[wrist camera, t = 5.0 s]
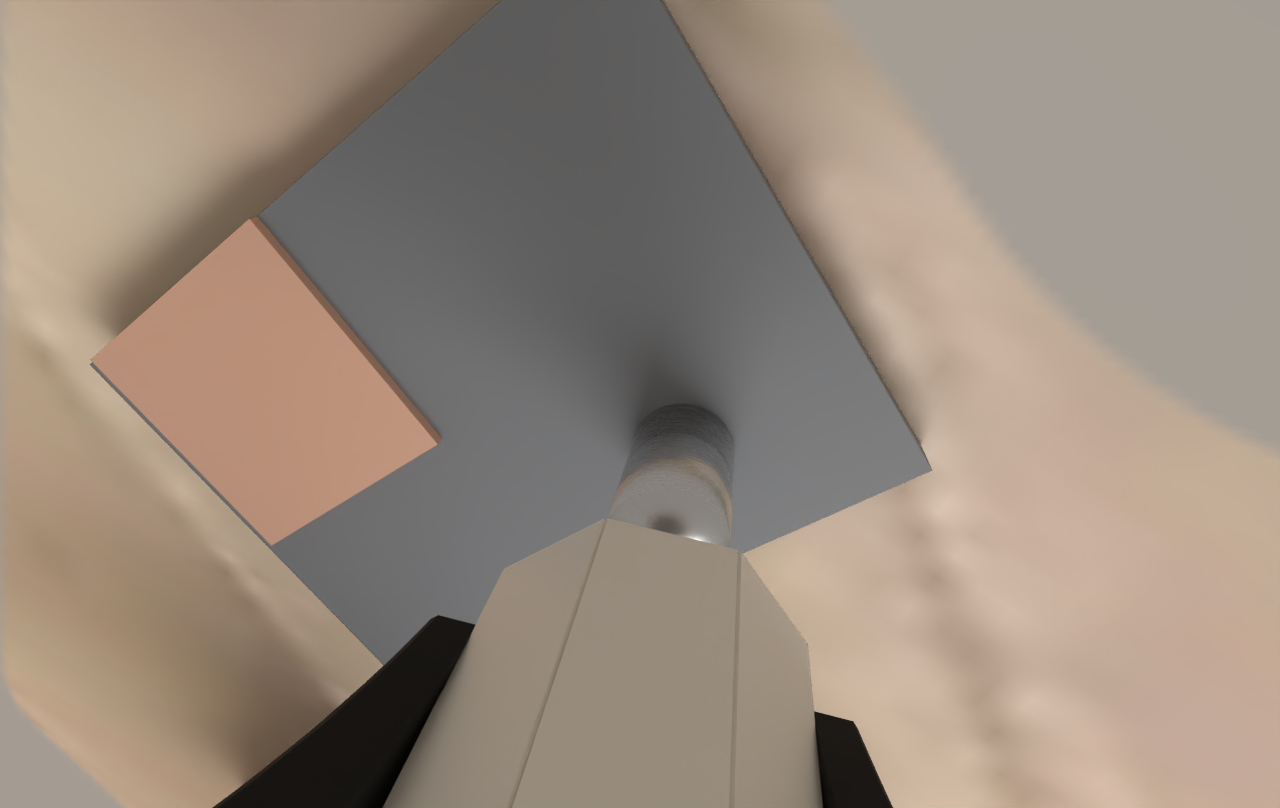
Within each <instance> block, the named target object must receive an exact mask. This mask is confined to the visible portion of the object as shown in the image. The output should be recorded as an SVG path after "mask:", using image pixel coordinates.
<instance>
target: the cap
mask: <svg viewBox="0 0 1280 808" xmlns="http://www.w3.org/2000/svg"><path fill="white" fill-rule="evenodd" d="M383 808H823V802H822V791H821V782H820V771H819V760H818V750H817V739H816V728H815V717H814V705H813V694H812V684H811V673H810V662H809V651H808V644H807V642H806V641H805V639H804V638H803V637H802V635H801V634H800V633H799V631H798V630H797V628H796V627H795V626H794V624H793V623H792V621H791V620H790V619H789V617H788V616H787V615H786V613H785V612H784V610H783V609H782V608H781V606H780V605H779V603H778V602H777V601H776V599H775V598H774V596H773V595H772V594H771V592H770V591H769V590H768V588H767V587H766V585H765V584H764V583H763V581H762V580H761V578H760V577H759V576H758V574H757V573H756V572H755V570H754V569H753V567H752V566H751V565H750V563H749V562H748V560H747V559H746V558H745V556H744V555H743V553H742V552H741V553H739V554H738V550H736V549H732V548H728V547H724V546H720V545H716V544H712V543H707V542H703V541H699V540H695V539H691V538H687V537H683V536H679V535H675V534H670V533H666V532H662V531H658V530H654V529H650V528H646V527H642V526H638V525H633V524H629V523H625V522H621V521H617V520H613V519H609V518H608V519H607V522H606V521H605V520H604V519H602V520H600V521H598V522H596V523H594V524H592V525H590V526H588V527H586V528H584V529H582V530H580V531H578V532H576V533H574V534H572V535H570V536H568V537H566V538H564V539H562V540H560V541H558V542H556V543H554V544H552V545H550V546H548V547H546V548H544V549H542V550H540V551H538V552H536V553H534V554H532V555H530V556H528V557H526V558H524V559H522V560H520V561H518V562H516V563H514V564H512V565H510V566H508V567H506V568H504V570H503V571H502V573H501V575H500V577H499V579H498V581H497V583H496V585H495V587H494V589H493V591H492V593H491V595H490V597H489V598H488V600H487V602H486V604H485V606H484V608H483V610H482V612H481V614H480V616H479V618H478V620H477V622H476V624H475V627H474V629H473V631H472V633H471V635H470V637H469V639H468V641H467V643H466V645H465V647H464V649H463V651H462V653H461V655H460V657H459V659H458V661H457V663H456V665H455V667H454V669H453V671H452V673H451V675H450V677H449V679H448V681H447V683H446V685H445V687H444V689H443V690H442V692H441V694H440V695H439V697H438V699H437V701H436V703H435V705H434V707H433V709H432V711H431V713H430V715H429V717H428V719H427V721H426V723H425V725H424V727H423V729H422V731H421V733H420V735H419V737H418V739H417V741H416V743H415V745H414V747H413V749H412V751H411V753H410V755H409V757H408V759H407V761H406V762H405V764H404V766H403V768H402V770H401V772H400V774H399V776H398V778H397V780H396V782H395V784H394V786H393V788H392V790H391V792H390V794H389V796H388V798H387V800H386V802H385V804H384V806H383Z"/></svg>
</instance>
